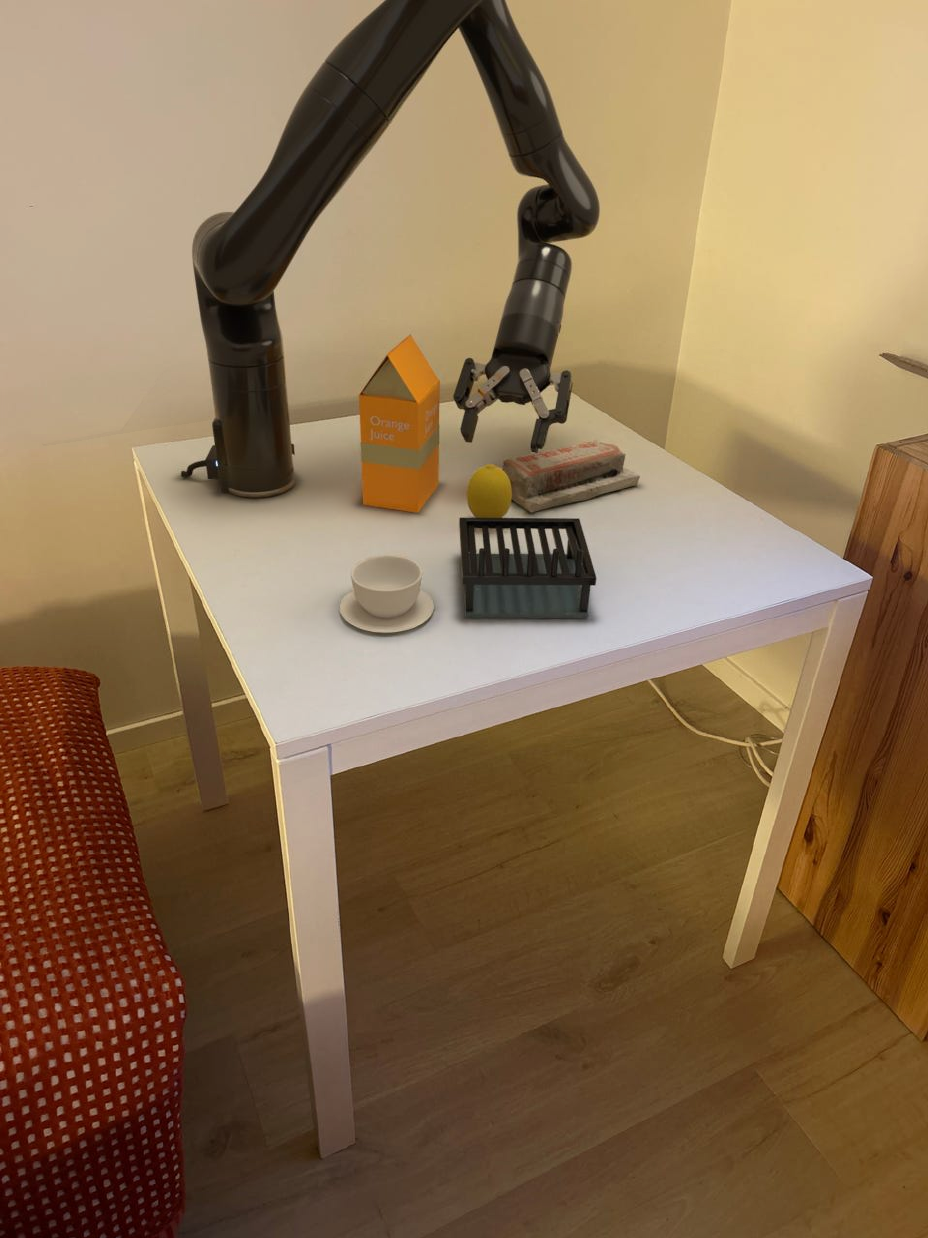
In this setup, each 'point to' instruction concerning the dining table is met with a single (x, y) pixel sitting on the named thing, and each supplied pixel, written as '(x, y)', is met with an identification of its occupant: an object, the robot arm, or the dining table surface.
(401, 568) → the teacup
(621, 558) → the dining table surface
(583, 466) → the packaged product
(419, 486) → the orange juice
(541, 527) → the dish rack
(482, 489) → the lemon
